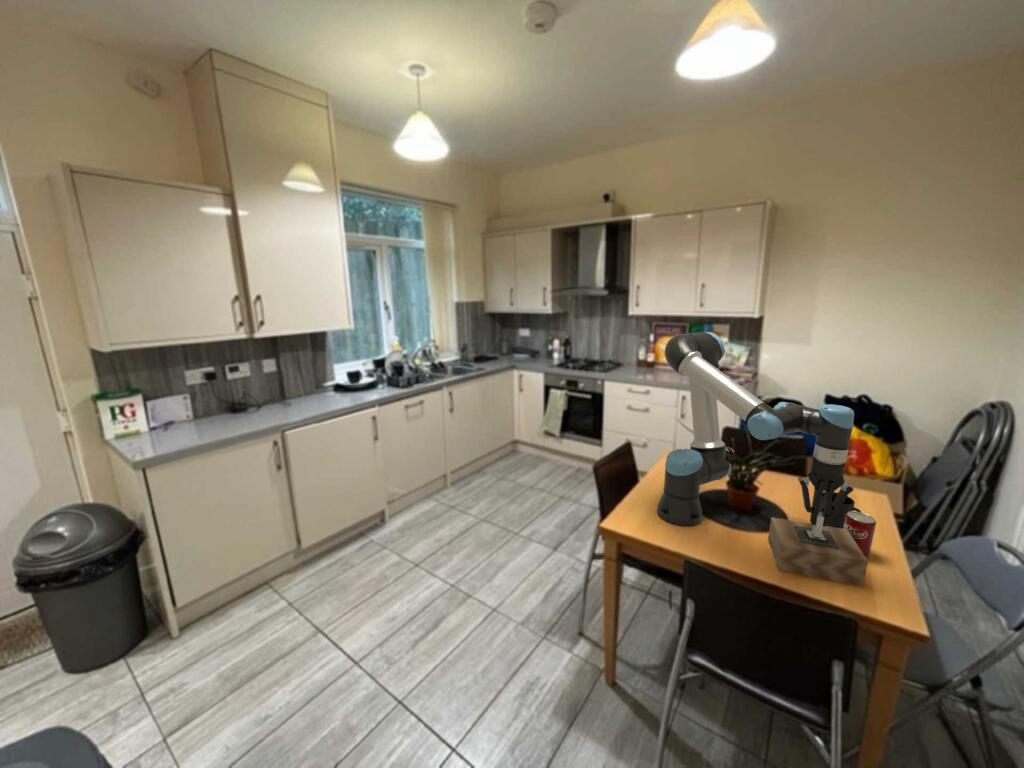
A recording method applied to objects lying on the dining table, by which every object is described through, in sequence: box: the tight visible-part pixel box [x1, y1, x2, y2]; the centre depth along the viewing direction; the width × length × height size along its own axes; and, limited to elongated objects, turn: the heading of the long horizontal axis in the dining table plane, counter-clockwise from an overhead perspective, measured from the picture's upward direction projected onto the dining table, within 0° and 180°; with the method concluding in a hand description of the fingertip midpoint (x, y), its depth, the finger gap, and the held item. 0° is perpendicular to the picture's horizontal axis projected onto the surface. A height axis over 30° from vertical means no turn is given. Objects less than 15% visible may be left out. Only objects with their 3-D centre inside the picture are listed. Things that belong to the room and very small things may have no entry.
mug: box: [819, 491, 862, 529], centre depth 146 cm, size 9×12×9 cm
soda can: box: [843, 510, 877, 558], centre depth 130 cm, size 7×7×12 cm
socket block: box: [767, 516, 869, 587], centre depth 126 cm, size 20×16×8 cm
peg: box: [806, 530, 826, 542], centre depth 126 cm, size 4×4×8 cm
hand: (816, 534), depth 125 cm, fingers closed
